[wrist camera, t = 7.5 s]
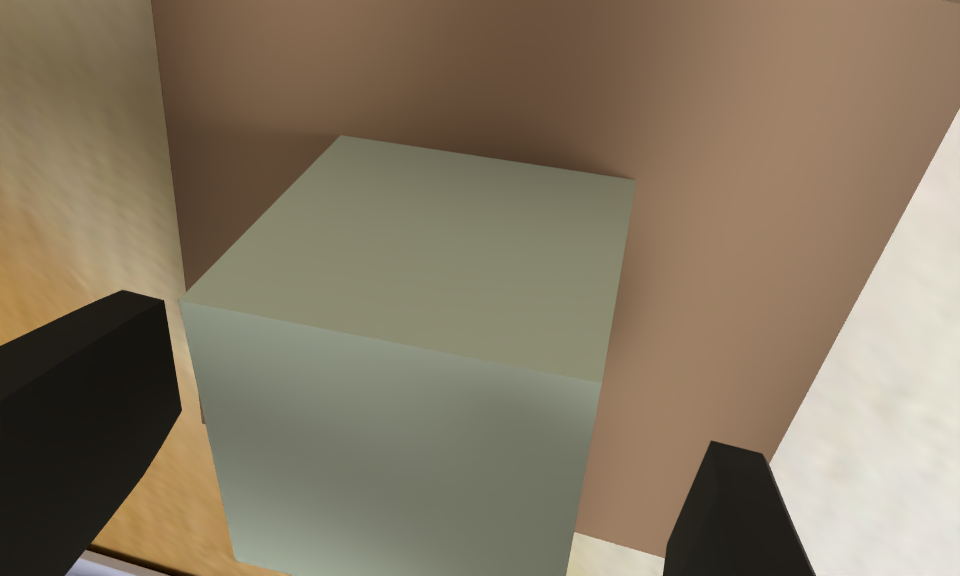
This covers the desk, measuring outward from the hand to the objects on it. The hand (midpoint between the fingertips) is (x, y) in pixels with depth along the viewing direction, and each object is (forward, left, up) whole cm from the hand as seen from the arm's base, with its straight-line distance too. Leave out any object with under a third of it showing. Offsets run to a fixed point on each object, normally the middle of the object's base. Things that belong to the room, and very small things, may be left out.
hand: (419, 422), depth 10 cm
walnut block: (0, 0, -6) cm, 6 cm away
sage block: (0, 0, -3) cm, 3 cm away
